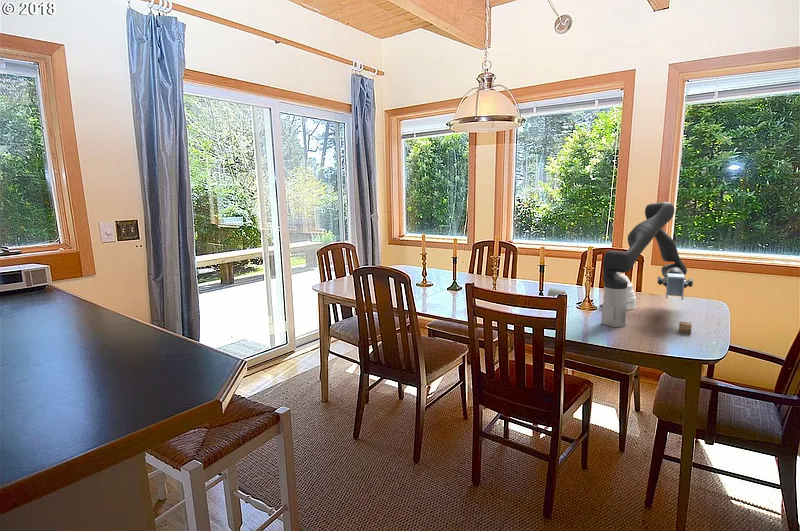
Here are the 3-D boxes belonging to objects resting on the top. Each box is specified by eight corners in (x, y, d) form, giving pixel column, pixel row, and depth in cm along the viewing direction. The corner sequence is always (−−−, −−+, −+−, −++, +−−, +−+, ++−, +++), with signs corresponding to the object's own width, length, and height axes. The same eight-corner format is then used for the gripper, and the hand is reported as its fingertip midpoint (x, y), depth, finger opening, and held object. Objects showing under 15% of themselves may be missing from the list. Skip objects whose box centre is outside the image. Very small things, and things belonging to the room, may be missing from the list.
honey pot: (603, 306, 219) (604, 272, 216) (613, 301, 228) (615, 268, 224) (629, 311, 210) (631, 275, 206) (639, 305, 218) (641, 271, 215)
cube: (690, 334, 176) (691, 325, 175) (679, 333, 178) (679, 323, 177) (690, 331, 179) (690, 322, 178) (678, 330, 181) (679, 321, 180)
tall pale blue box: (683, 300, 183) (684, 277, 181) (666, 298, 186) (667, 276, 185) (682, 296, 189) (684, 274, 187) (666, 294, 192) (667, 273, 190)
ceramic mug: (562, 305, 225) (563, 291, 224) (546, 303, 230) (547, 289, 228) (567, 300, 234) (568, 287, 232) (552, 299, 238) (552, 285, 237)
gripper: (657, 268, 202) (656, 275, 188) (693, 270, 194) (696, 278, 180) (656, 284, 203) (655, 292, 189) (692, 286, 196) (694, 295, 182)
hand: (675, 285), depth 185 cm, fingers closed on tall pale blue box, 6 cm apart
